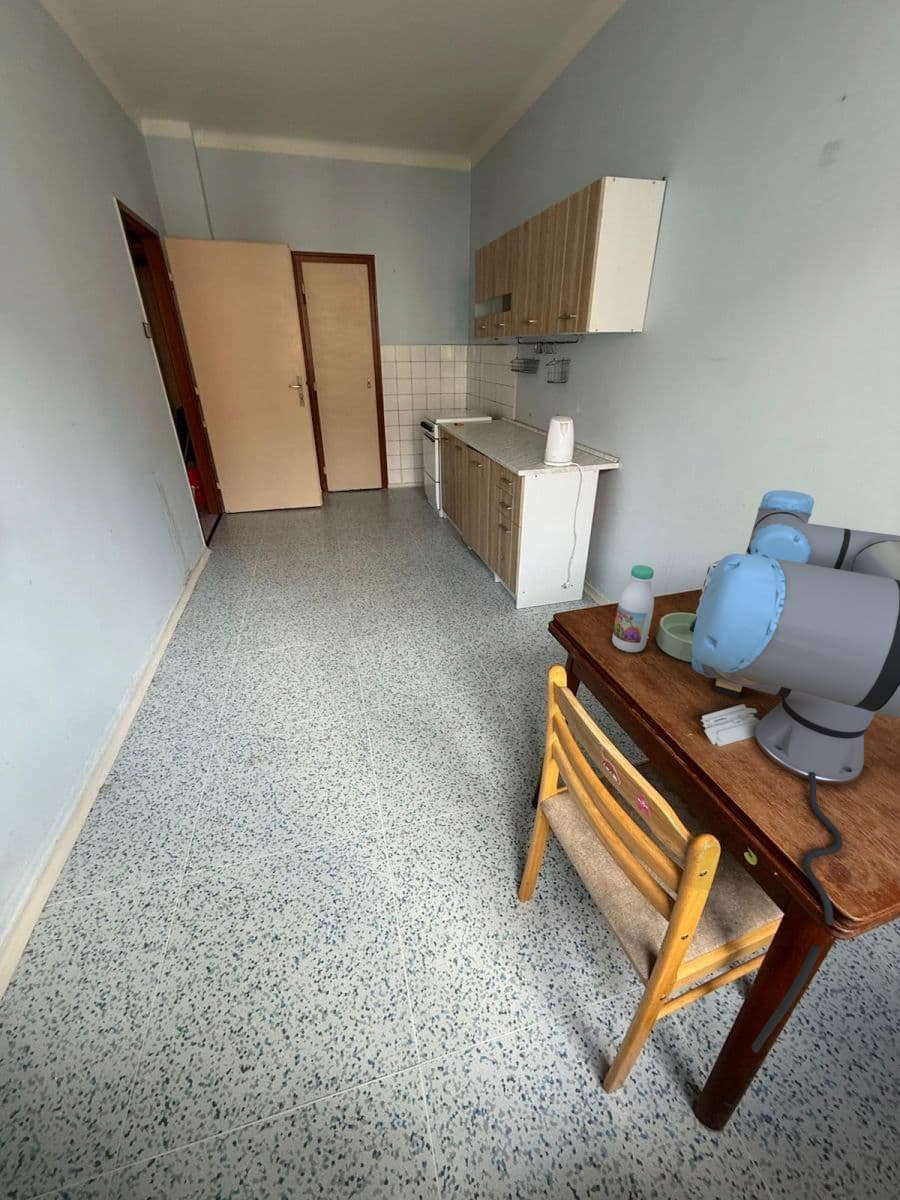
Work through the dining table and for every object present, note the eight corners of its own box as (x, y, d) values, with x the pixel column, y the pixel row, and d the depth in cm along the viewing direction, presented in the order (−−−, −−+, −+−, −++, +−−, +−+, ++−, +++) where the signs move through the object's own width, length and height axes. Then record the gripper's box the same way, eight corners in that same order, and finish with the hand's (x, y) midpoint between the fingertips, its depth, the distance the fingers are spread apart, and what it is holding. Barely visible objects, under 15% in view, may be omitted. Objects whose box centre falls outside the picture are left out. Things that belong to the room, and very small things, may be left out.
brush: (738, 698, 96) (751, 662, 91) (713, 691, 98) (725, 655, 93) (740, 677, 102) (752, 642, 97) (717, 670, 104) (727, 636, 99)
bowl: (718, 672, 103) (725, 651, 101) (650, 653, 110) (655, 633, 107) (723, 641, 114) (729, 621, 111) (661, 626, 120) (665, 607, 118)
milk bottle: (625, 632, 118) (639, 559, 109) (652, 646, 112) (669, 570, 103) (604, 641, 115) (617, 566, 105) (631, 657, 109) (646, 579, 99)
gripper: (840, 581, 85) (800, 678, 95) (694, 556, 96) (672, 645, 106) (845, 598, 79) (802, 699, 89) (689, 569, 90) (667, 662, 100)
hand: (731, 670), depth 98 cm, fingers open, 12 cm apart
